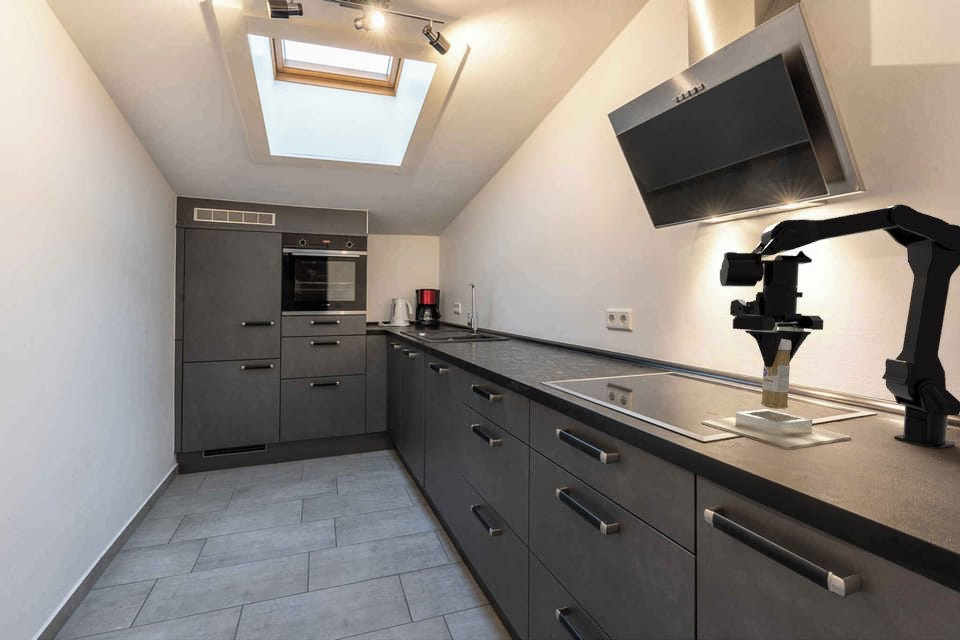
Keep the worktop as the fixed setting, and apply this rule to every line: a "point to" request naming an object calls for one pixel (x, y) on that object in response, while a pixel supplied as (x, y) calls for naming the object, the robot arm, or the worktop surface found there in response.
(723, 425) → the birch board
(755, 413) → the socket collar
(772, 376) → the sprinkles bottle
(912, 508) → the worktop surface
